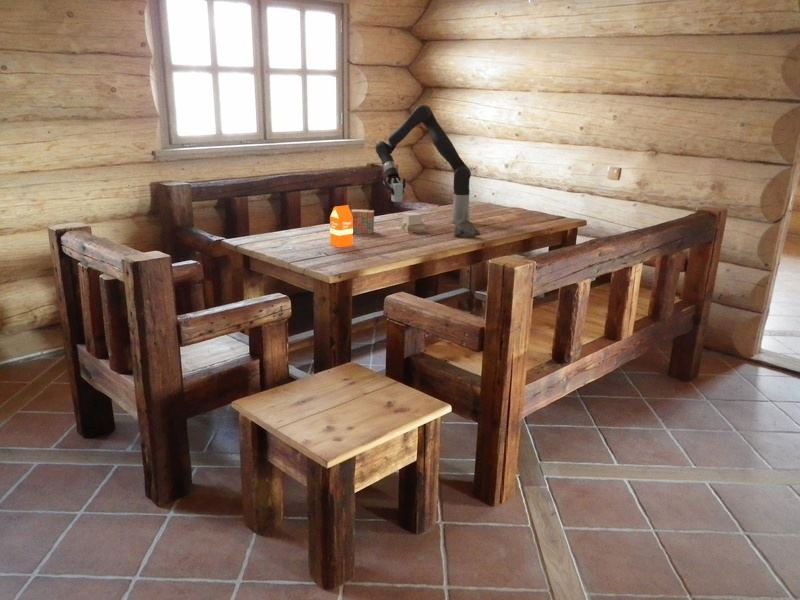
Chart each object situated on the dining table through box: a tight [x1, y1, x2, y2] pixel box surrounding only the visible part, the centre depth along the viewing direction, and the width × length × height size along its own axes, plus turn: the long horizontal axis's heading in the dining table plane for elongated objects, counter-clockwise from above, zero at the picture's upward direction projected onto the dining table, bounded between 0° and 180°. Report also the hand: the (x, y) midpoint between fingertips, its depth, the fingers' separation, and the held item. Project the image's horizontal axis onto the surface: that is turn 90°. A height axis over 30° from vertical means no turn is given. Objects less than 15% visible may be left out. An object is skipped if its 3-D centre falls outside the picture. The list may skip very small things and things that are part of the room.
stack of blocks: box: [350, 209, 375, 234], centre depth 376 cm, size 21×6×12 cm, turn 87°
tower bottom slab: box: [400, 220, 426, 234], centre depth 384 cm, size 10×10×5 cm
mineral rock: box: [453, 219, 482, 238], centre depth 370 cm, size 13×11×10 cm
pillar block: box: [390, 182, 404, 203], centre depth 395 cm, size 5×5×10 cm
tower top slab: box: [402, 211, 423, 224], centre depth 383 cm, size 8×8×5 cm
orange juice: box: [329, 204, 354, 248], centre depth 346 cm, size 8×9×20 cm
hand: (398, 194), depth 393 cm, fingers closed on pillar block, 5 cm apart
